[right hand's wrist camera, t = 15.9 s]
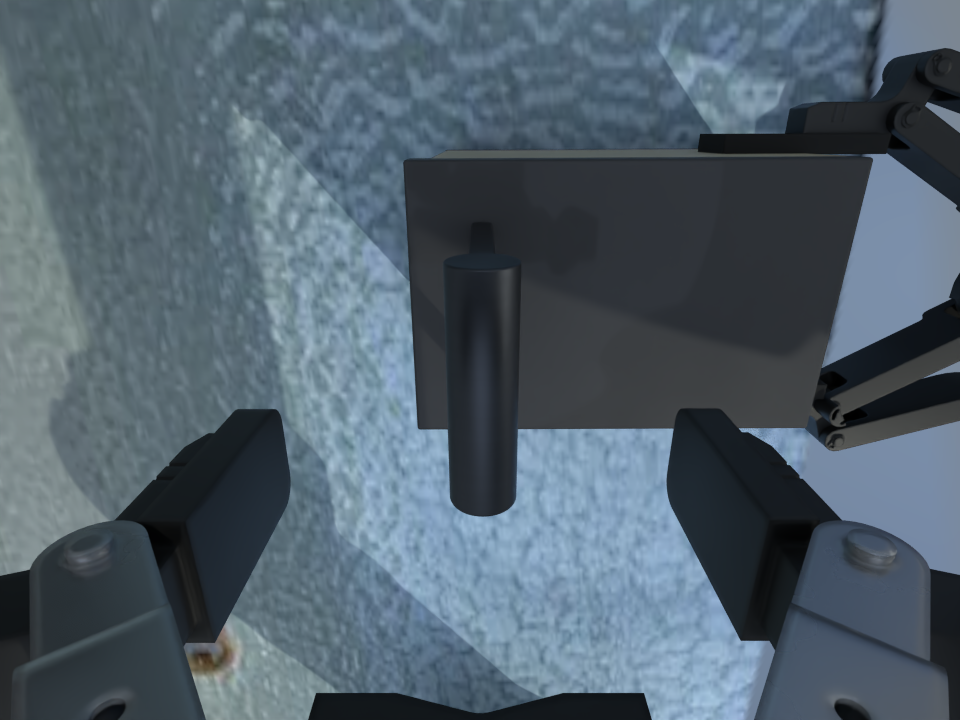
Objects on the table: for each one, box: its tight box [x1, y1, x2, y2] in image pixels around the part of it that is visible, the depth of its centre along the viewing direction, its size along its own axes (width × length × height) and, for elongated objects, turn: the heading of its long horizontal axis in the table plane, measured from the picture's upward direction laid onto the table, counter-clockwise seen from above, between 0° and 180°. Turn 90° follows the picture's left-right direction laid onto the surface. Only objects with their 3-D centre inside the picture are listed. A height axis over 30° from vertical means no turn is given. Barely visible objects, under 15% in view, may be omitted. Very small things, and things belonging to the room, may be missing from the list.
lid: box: [403, 156, 873, 517], centre depth 17 cm, size 16×10×9 cm, turn 90°
